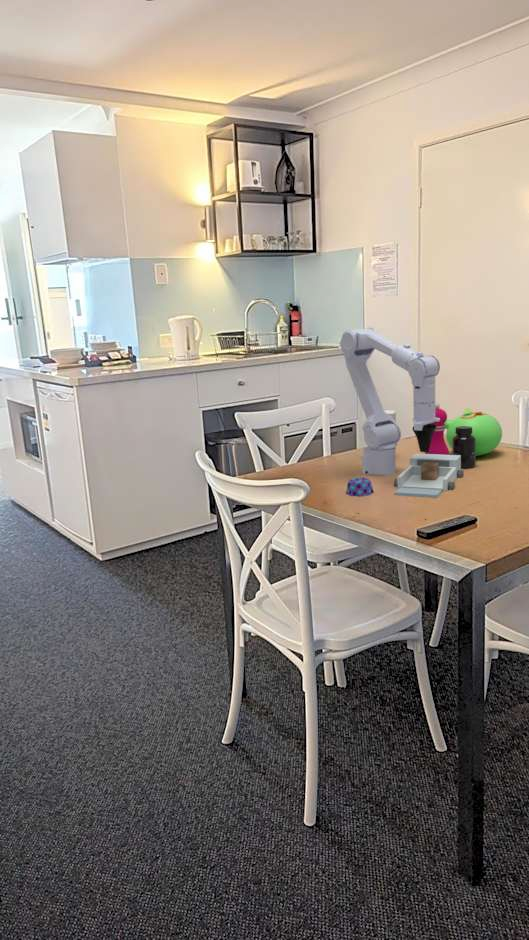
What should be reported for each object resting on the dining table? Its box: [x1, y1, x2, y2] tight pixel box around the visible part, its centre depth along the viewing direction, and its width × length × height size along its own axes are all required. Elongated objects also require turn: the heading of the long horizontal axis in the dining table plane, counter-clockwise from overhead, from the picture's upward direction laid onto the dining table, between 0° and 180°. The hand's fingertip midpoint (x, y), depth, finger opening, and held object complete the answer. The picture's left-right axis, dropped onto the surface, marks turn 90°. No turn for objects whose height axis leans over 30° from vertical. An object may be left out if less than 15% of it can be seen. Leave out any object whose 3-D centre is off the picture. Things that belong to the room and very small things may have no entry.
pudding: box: [345, 477, 375, 498], centre depth 177 cm, size 12×12×5 cm
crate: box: [421, 462, 439, 480], centre depth 184 cm, size 4×4×4 cm
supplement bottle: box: [451, 426, 477, 469], centre depth 201 cm, size 7×7×12 cm
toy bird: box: [444, 407, 503, 457], centre depth 214 cm, size 18×17×15 cm
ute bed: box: [393, 453, 465, 492], centre depth 184 cm, size 16×19×6 cm
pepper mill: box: [424, 402, 450, 455], centre depth 199 cm, size 7×7×20 cm
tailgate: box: [393, 487, 444, 499], centre depth 173 cm, size 11×6×1 cm, turn 64°
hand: (424, 451), depth 182 cm, fingers closed
